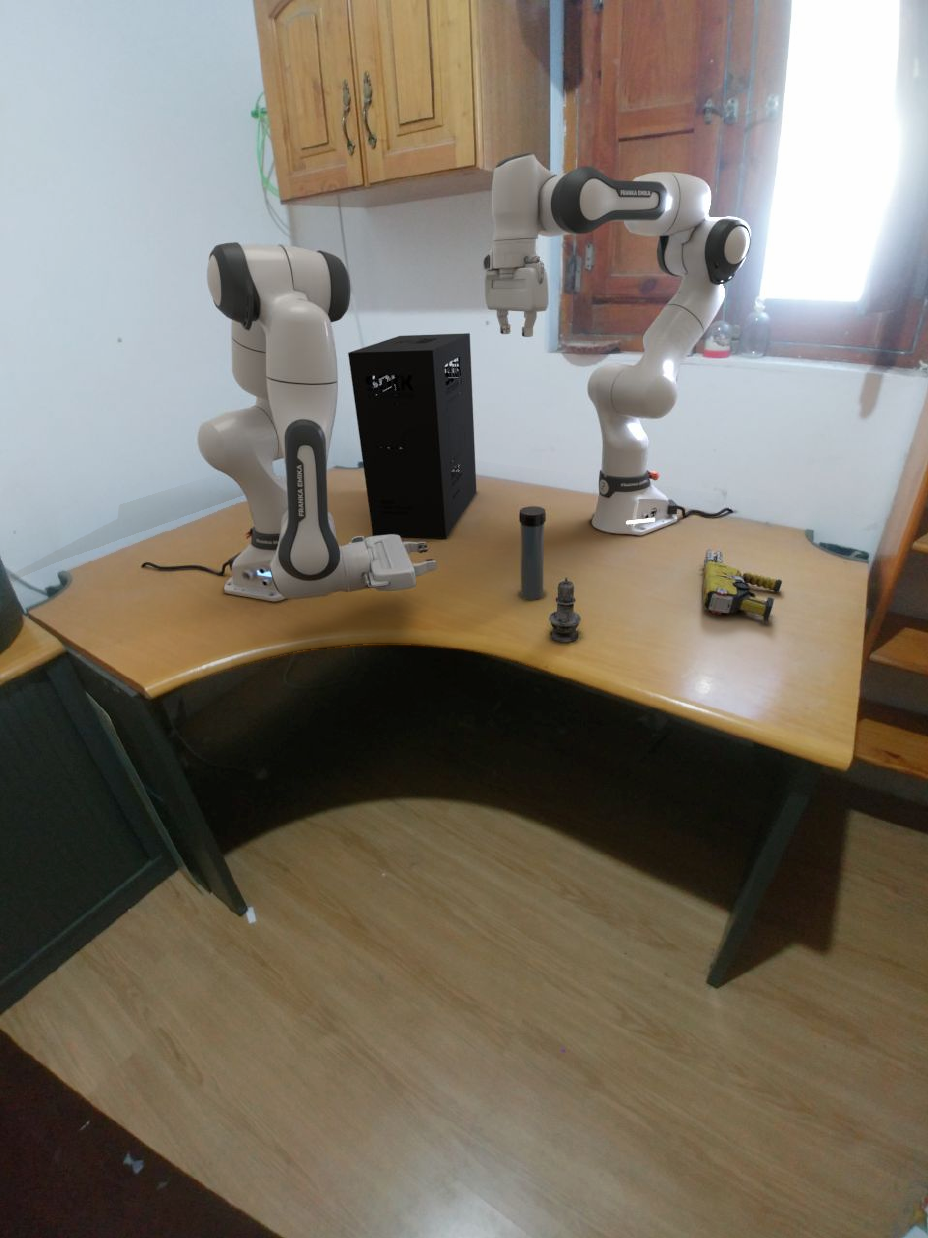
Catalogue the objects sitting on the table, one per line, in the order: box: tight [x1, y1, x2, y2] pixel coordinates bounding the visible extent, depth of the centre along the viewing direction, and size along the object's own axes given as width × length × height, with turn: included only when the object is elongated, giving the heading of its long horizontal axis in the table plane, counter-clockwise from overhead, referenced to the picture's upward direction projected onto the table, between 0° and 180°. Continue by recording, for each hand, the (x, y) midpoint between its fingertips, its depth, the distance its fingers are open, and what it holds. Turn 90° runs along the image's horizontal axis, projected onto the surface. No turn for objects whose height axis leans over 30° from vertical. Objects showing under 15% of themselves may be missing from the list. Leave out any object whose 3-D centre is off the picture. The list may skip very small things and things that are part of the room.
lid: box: [518, 505, 547, 526], centre depth 119 cm, size 5×5×2 cm
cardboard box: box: [347, 332, 477, 540], centre depth 163 cm, size 38×20×45 cm, turn 167°
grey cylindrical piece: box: [520, 523, 545, 601], centre depth 123 cm, size 5×5×18 cm
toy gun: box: [702, 548, 783, 622], centre depth 122 cm, size 5×24×15 cm
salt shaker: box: [548, 576, 582, 643], centre depth 110 cm, size 6×6×12 cm
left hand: (431, 555), depth 117 cm, fingers open, 8 cm apart
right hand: (516, 335), depth 125 cm, fingers open, 8 cm apart
